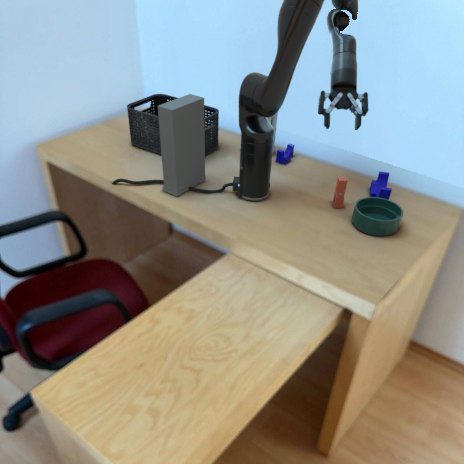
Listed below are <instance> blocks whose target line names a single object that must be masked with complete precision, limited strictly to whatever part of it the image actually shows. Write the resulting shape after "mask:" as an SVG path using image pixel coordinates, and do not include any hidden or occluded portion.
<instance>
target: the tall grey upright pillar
mask: <svg viewBox="0 0 464 464" xmlns="http://www.w3.org/2000/svg"><path fill="white" fill-rule="evenodd" d="M177 98H178V99H175V100H172V101H169V100H168V101H169V102H167V103H164V104H161V105H159V106H158V118H159V130H160V142H161V154H162V155H161V165H162V180H164V183H163V186H162V191H163V192H165V193H167V194H170V195H173V196H175V197H179V196H181V195H182V194H184V193H186V192H188V191H190V190H189V187H193V188H195V187H196V186H198V185H200V184H202V183H204V182H205V181H206V180H207V177H206V156H205V126H206V125H204V105H205V97H203V96H199V95H195V94H191V93H189V94H185V95H184V96H180V97H177Z"/></svg>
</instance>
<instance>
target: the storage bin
mask: <svg viewBox="0 0 464 464" xmlns="http://www.w3.org/2000/svg"><path fill="white" fill-rule="evenodd" d="M178 98H179V97H177V96H174V95H169V94H166V93H154V94H152V95H149V96H146V97H144V98H141V99H138V100H136V101H133V102H130V103H128V104H126V111H127V118H128V126H129V136H130V144H131V145H132V146H134V147H137V148H140V149H144V150H146V151H149V152H153V153H155V154H158V155H160V156H162V154H161V142H160V130H159V118H158V106H159V105H161V104H164V103H167V102H169V101H172V100H175V99H178ZM148 103H150V106H149V107H146V108H144V109H142V110H138V109H135V108H137V107H140V106H143V105H146V104H148ZM219 113H220V110H219V108H217V107H213V106H209V105H207V104H204V125H205V157H206V156H208V155H209V154H211V153H212V152H214V151H217V150H218V149H219V125H220V124H219V123H220V122H219V119H220V117H219V115H220V114H219Z"/></svg>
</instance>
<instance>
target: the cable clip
mask: <svg viewBox="0 0 464 464" xmlns="http://www.w3.org/2000/svg"><path fill="white" fill-rule="evenodd" d="M389 178H390V172H387V171H378V175H377V178H376V179H371V182H370V186H369V197H379V198H384V199H387V200H390V198H391V194H392V191H393V189H392V188H391V187H388V182H389Z"/></svg>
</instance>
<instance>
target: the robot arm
mask: <svg viewBox="0 0 464 464" xmlns="http://www.w3.org/2000/svg"><path fill="white" fill-rule="evenodd" d="M325 1H326V0H283V1H282V2H281V6H280V8H279V11H278V16H277V21H276V22H277V23H276V39H277V43H276V47H277V48H276V54H275V57H274V61H273V63H272V66H271V68H270V71H269V72H268V75H266V74H263V73H260V72H255V71H254V72H250V73H247V75H245V77H244V78H243V79H242V81H241V84H240V87H239V92H238V127H239V130H240V154H239V155H240V156H239V157H240V158H239V169H238V170H239V174H238V176H233V179H232V182H227V183H225V184H223V185H222V187H221V188H219V189H214V190H213V189H204V188H197V187H189V190H188V191H193V192H196V193H202V194H219V193H222V192H224V191H225V190H226V188H228V187H232V192H236V193H237V194H238V199H243V200H246V201H250V202H259V201H264V200H266V199H267V198H268V197H270V196H269V195H270V189H271V173H272V164H273V163H272V162H273V154H274V152H273V143H274V128H273V126H272V125H271V124H270V122H269V121H268V119H267V118H270V117H272V116H274V115H275V114H276V113H277V112H278V113H279V111H280V110H281V108H282V106H283V104H284V102H285V99H286V98H287V94H288V92H289V90H290V86H291V82H292V80H293V77H294V74H295V71H296V69H297V66H298V63H299V61H300V58H301V56H302V54H303V51H304V49H305V46H306V44H307V42H308V40H309V37H310V35H311V33H312V31H313V29H314V26H315V24H316V22H317V20H318V18H319V16H320V13H321V11H322V9H323V6H324V3H325ZM330 1H331V5H332V7H333V8H334V7H335V8H336V9H333V10H331V9H330V10H331V11H330V10H329V11H330V12H329V11H328V13H327V15H328V16H326V26H327V30H328V34H329V36H330V40H331V41H330V42H331V64H330V72H329V73H330V74H329V75H330V89H329V92H326V91H325V90H321V91H320V93H319V96H318V106H317V107H318V108H317V114H318V115H319V116H320V115H322V116H323V127H324V128H325V129H326V130H329V129H330V127H331V113H332V112H333V111H334V110H335V109H336V110H345V111H348V110H349V111H350V113H352V114H353V115H354V116H355V117H354V131H358V130H359V129H360V128H361V127H362V117H365V116H366V115H367V114H368V112H369V93H368V92H367V91H365V92H363V93H359V92H358V90H357V89H358V61H357V59H358V56H357V55H358V54H357V53H358V52H357V51H358V42H357V38H356V36H354V35H351V34H349V33H345V34H342V33H340V31H343V30H344V29H345V28H346V27H347V26H348V25H349V22H350V21H349V20H350V19H349V16H348V15H347V14H346V13H345V12H343V11H341V10H347V11H349V12H350V13H351V14H352V19H353V20H356V19H357V14H358V13H357V12H358V0H330ZM327 99H328V100H329V102H330V104H329V105H328V107H327V108H325V102H326V101H327ZM357 100H358V101H359V103H361V104H360V105H361V108H360V106H359V103H358V102H357ZM118 183H125V184H129V185H137V186H138V185H149V184H164V179H147V180H130V179H127V178H117V179H115V180H113V181H112V182H111V185H113V186H115V185H116V184H118Z"/></svg>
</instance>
